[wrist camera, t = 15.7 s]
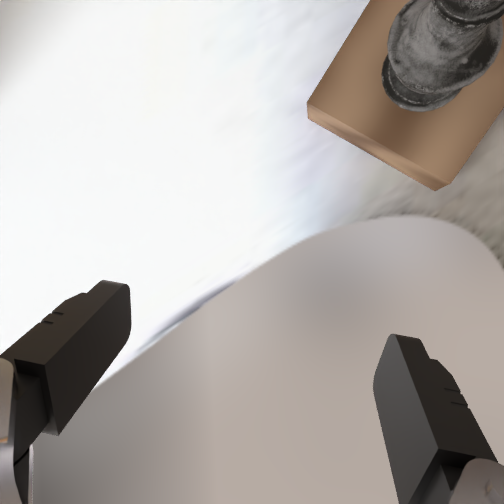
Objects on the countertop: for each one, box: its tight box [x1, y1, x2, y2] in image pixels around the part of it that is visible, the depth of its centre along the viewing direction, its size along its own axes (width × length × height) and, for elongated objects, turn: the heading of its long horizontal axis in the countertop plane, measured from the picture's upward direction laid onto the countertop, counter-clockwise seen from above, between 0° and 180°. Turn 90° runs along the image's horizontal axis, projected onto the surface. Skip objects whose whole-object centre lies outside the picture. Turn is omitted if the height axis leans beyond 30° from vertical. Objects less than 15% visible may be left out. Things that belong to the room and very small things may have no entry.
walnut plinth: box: [307, 0, 504, 191], centre depth 24 cm, size 11×11×3 cm
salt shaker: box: [381, 0, 504, 112], centre depth 16 cm, size 6×6×12 cm
